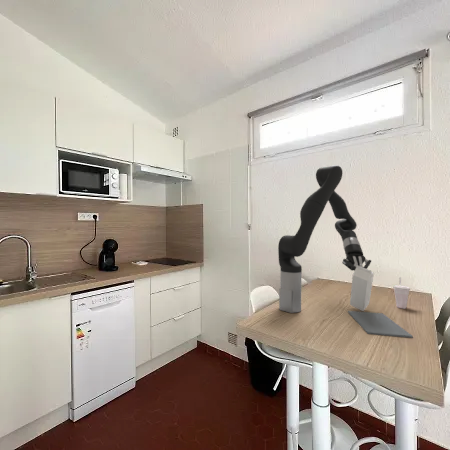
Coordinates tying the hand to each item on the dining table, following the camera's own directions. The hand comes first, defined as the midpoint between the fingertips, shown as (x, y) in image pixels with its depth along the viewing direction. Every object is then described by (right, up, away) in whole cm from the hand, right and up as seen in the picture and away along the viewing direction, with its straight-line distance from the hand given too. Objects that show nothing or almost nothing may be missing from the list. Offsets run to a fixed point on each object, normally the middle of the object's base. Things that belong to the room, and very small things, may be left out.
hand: (361, 277), depth 108 cm
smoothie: (+22, -15, +5) cm, 27 cm away
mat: (-3, -15, -15) cm, 21 cm away
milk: (0, -13, +2) cm, 13 cm away
